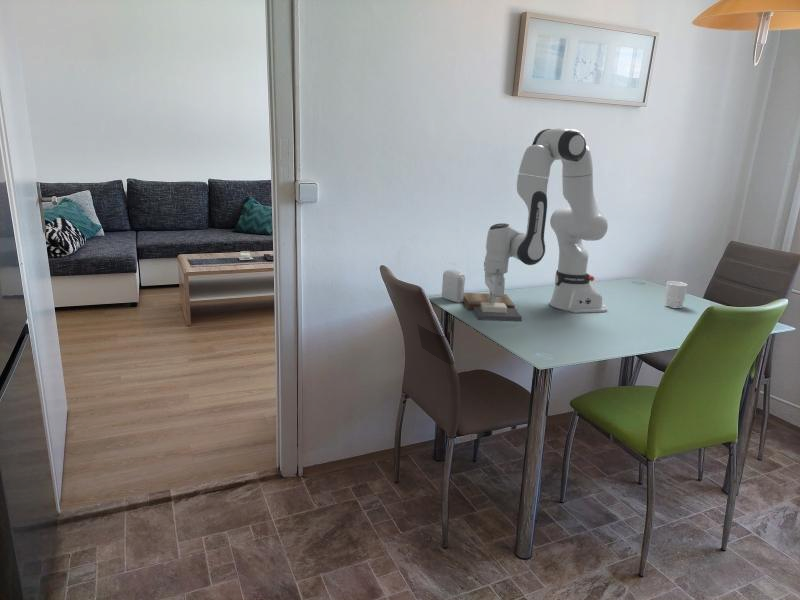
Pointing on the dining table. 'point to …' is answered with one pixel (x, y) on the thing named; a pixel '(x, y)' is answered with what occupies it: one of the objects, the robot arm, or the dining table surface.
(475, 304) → the walnut deck
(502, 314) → the charcoal mat
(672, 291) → the white cup
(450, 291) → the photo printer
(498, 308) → the cream card
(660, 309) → the dining table surface
